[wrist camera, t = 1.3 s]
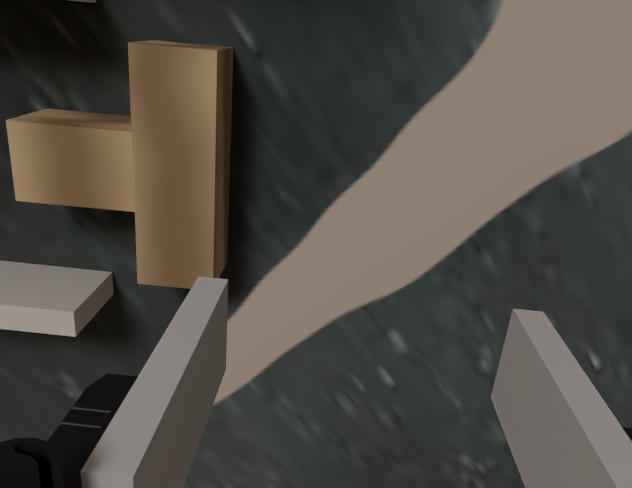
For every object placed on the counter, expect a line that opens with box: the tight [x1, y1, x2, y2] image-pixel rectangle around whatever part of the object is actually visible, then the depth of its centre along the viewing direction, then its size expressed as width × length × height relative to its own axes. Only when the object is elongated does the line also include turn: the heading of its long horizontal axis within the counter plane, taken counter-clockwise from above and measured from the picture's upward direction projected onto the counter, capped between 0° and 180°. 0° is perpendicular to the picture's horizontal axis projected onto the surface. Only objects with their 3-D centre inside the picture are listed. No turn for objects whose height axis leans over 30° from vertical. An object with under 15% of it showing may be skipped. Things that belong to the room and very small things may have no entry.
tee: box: [6, 40, 233, 289], centre depth 28 cm, size 10×12×4 cm
